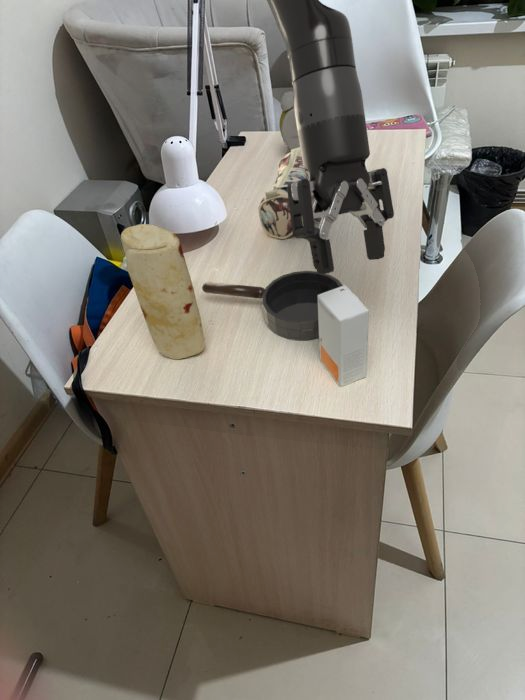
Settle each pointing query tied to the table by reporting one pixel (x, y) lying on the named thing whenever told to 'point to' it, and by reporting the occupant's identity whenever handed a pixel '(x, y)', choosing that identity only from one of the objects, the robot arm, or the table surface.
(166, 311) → the food model
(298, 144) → the alarm clock
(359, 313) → the cosmetic box
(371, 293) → the table surface
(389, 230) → the table surface
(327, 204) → the robot arm
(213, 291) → the pan handle
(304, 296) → the frying pan
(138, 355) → the table surface
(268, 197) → the pencil case
